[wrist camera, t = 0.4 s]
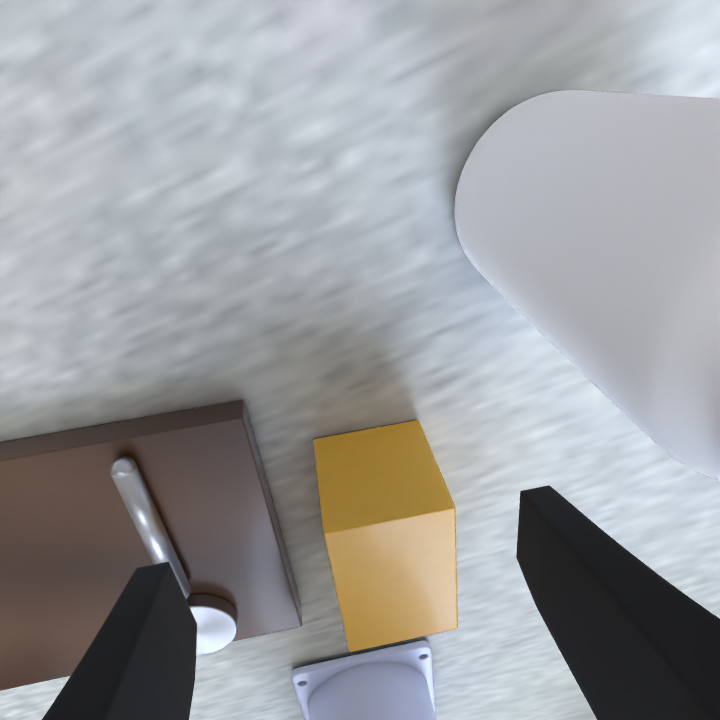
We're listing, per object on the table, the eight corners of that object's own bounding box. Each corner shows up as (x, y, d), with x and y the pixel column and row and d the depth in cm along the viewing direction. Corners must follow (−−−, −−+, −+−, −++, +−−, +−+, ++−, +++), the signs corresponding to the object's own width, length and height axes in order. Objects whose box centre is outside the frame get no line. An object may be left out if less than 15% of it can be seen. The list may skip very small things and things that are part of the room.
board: (301, 605, 26) (302, 627, 25) (-108, 690, 25) (-125, 717, 24) (244, 398, 20) (242, 417, 19) (-320, 498, 18) (-355, 524, 17)
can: (443, 291, 19) (659, 568, 8) (456, 91, 15) (839, 137, 5) (608, 278, 19) (991, 516, 9) (654, 85, 16) (1331, 114, 6)
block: (426, 532, 25) (458, 629, 21) (335, 551, 25) (348, 653, 20) (418, 418, 21) (455, 507, 17) (312, 438, 21) (323, 533, 17)
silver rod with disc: (245, 632, 25) (244, 651, 24) (170, 648, 24) (167, 667, 24) (172, 442, 19) (167, 458, 18) (71, 460, 18) (62, 477, 18)
